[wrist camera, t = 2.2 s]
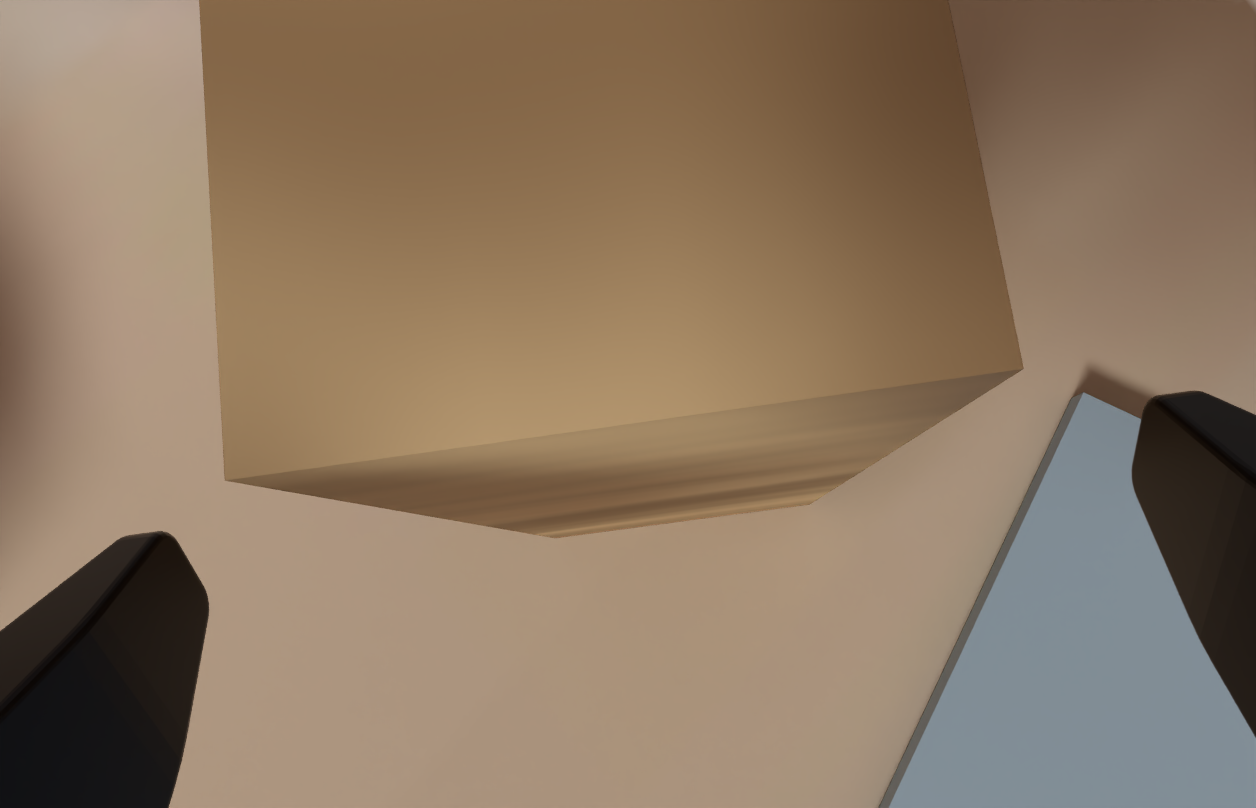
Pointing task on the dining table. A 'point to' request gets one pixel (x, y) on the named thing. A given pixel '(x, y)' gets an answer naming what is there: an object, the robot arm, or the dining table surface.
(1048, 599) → the slate pad
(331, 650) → the dining table surface
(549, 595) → the dining table surface
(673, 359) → the oak block
